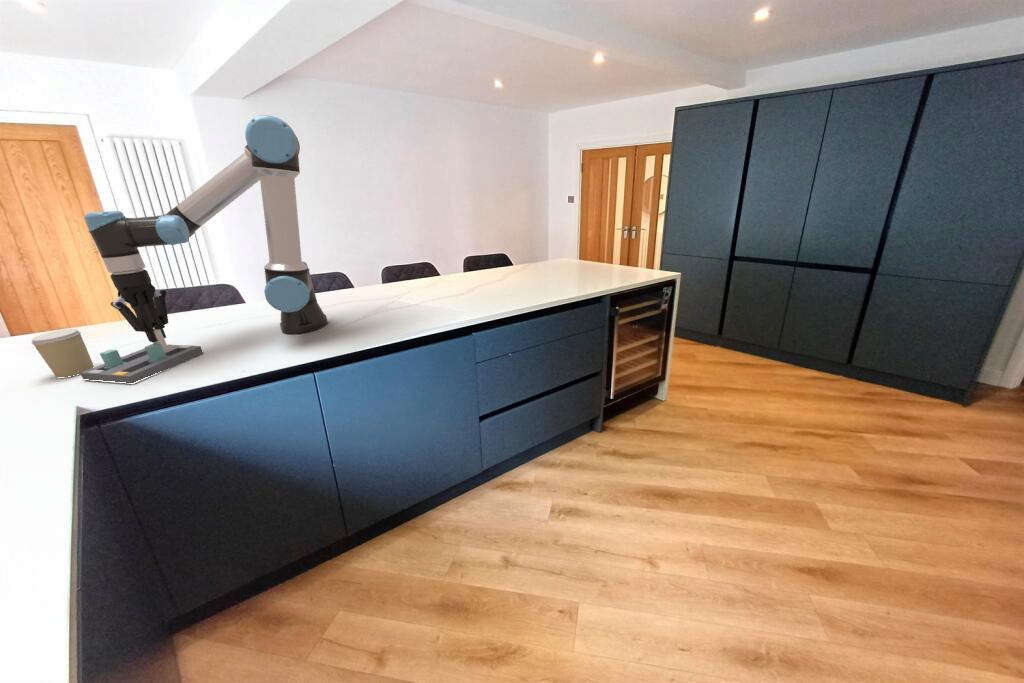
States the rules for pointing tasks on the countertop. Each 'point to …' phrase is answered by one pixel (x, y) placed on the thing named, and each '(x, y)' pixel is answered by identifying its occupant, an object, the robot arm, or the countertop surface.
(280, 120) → the robot arm
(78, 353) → the coffee cup
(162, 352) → the tab
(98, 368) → the switch board
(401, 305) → the countertop surface
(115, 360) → the tab
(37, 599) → the countertop surface
